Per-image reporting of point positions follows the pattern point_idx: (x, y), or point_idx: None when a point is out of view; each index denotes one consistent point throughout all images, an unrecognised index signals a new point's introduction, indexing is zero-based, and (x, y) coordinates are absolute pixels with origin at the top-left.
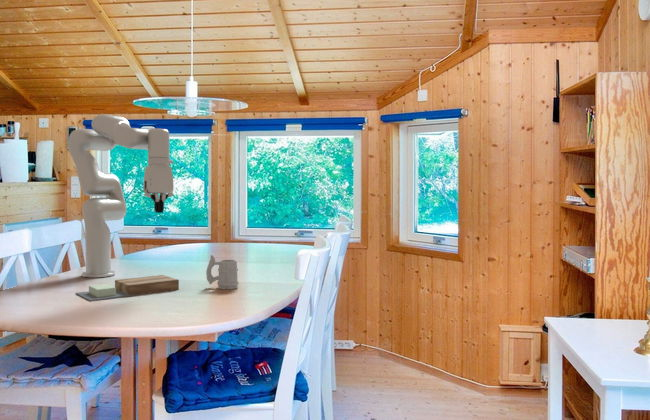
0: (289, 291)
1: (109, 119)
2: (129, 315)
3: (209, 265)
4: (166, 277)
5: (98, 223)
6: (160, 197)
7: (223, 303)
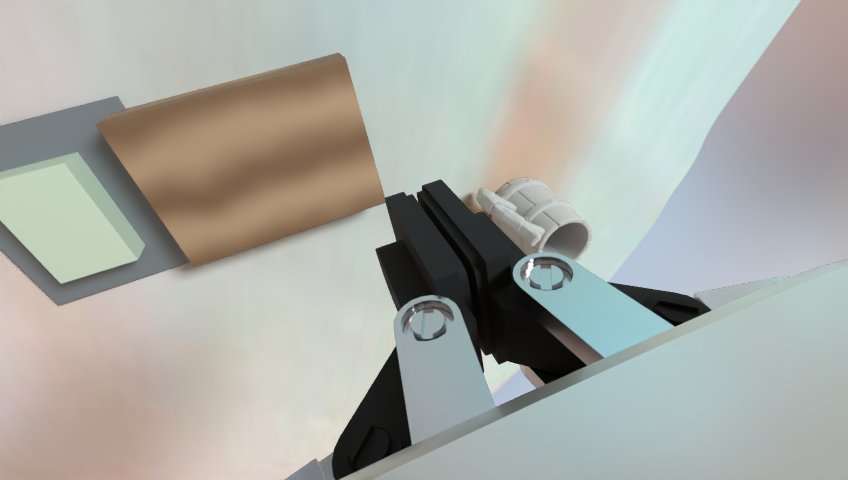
0: None
1: None
2: (223, 436)
3: (506, 225)
4: (350, 137)
5: None
6: (565, 332)
7: None
